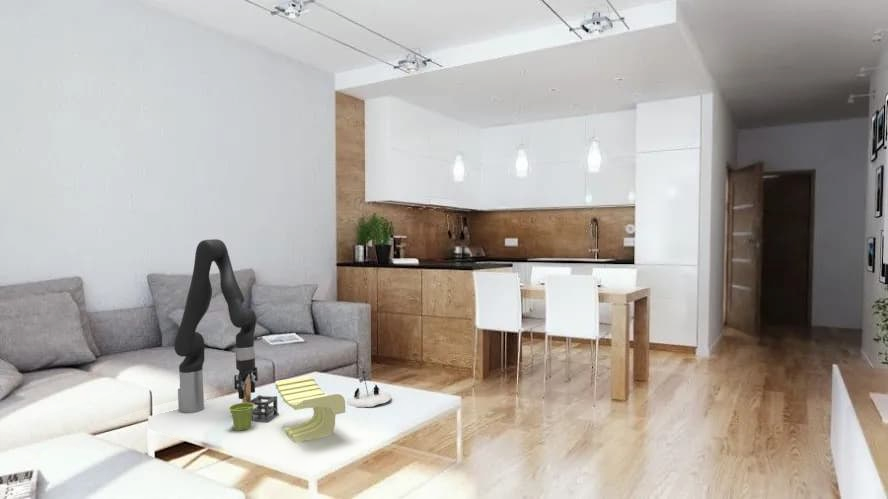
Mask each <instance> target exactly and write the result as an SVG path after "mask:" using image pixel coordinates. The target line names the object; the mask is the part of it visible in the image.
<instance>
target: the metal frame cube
mask: <svg viewBox="0 0 888 499" xmlns="http://www.w3.org/2000/svg"><path fill="white" fill-rule="evenodd" d="M262 400H264V401H262ZM248 403H253V404H254V406H256V407H253V411H252V420H251V421H255V423H267V424H268V423H270V422H271V421H272V420H274V419H275V418H277V417H278V416H279V412H278V396H275V395H274V396H269V395H268V396H267V395H259V394H258V395H257V396H256V397H254V398H253V399H252V398H251V401H248ZM270 404H273V405H270ZM263 410H264V411H263Z"/></svg>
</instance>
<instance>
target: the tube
mask: <svg viewBox="0 0 888 499" xmlns="http://www.w3.org/2000/svg"><path fill="white" fill-rule="evenodd" d="M251 400H252V393H251V383H250V377H249V378H248V381H247V384H246V385H245V387H244V399H241V401H242V402H241V403H248V401H251Z"/></svg>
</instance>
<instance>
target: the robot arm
mask: <svg viewBox="0 0 888 499" xmlns="http://www.w3.org/2000/svg"><path fill="white" fill-rule="evenodd" d="M213 262H214V263H215V265H216V267H217V268H218V271H219V276H220V279H219V280H220V282H219V284H220V290H221V293H222V295H223V298H224V300H225V303H226V304H227V310H228V315H229V319H230V322H231V324H232V325H233V326H235V328H240V331H239V332H238V333H236V335H235V367H236V370H237V371H238V374H234V376H233V379H234V383H233V384H234V386H233V387H234V391H236V390H237V392H238V393H237V394H238V396H237V397H238V399H239V400H242V399H244V387H245V385H246V384H247V381H248V378H249V377H250V383H251V394H253V393H255V392H256V383H257V382H258V380H259V377H258V376H259V375H258V367H257V366H256V353H255V352H256V351H255V345H254V340H255V339H254V334H255V330H256V325H257V316H256V313H255V311H254V309H251V308H243V307H242V304H243V303H245V296H244V295H243V292H242V290H241V287H240V286H239V283H238V281H237V279H236V275H235V272H234V270H233V266H232V262H231V258H230V256H229V251H228V248H227V246H226V244H225V242H224V241H222V240H221V239H217V238H216V239H215V238H213V239H204V240H201V241H200V242H199V243H198V244H197V246H196V249H195V257H194V263H193V264H194V266H193V270H192V276H191V281H190V285H189V288H188V293H187V297H186V302H185V307H184V310H183V313H182V314H183V315H182V318H181V321H180V325H179V328H178V331H177V333H176V336H175V338H174V342H173V345H174V346H173V348H174V351H175V354H176V355H177V356H179V357H182V358H183V357H184V359H183V361H182V362H181V363H180V364H179V366H178V369H179V370H178V371H179V387H178V388H177V403H178V412H182V413H185V414H187V413H196V412H197V413H198V412H200V411H203V410H204V408H205V400H204V398H205V397H204V396H205V395H204V374H203V373H204V372H203V366H204V363H205V350H206V349H205V339H204V337H203V335H202V334H201V333H199V331H196V330H197V327H198V325H199V324H200V322H201V321H202V319H203V318H204V316H205V314H207V311H208V310H209V308H210V305H211V301H212V300H211V299H212V295H213V288H212V283H211V280H210V272H211V268H212V264H213Z"/></svg>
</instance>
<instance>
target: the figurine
mask: <svg viewBox="0 0 888 499" xmlns="http://www.w3.org/2000/svg"><path fill="white" fill-rule="evenodd" d="M358 368H359V372H361V373H362V374H361V375H359V374H356V373H354V375H355V377H357V378H358V380H359V383H363V382H364V384H365V389H366V391H361V392H360V387H358V388H356V390H355V391H354V395H352V396H351V397H350V398H348V399H347V402H346V404H347V406H350V407H356V408H366V407H367V408H370V407H375V406H377V405H380V404H385V403H387V402H389V401H390V400H391V399H392V395H391V393H389V392H387V391H381V390H380V388H379V387H378V385H377V384H374V387H373V388H372V390H368V387H367V382H366V381H368V380H369V379H370V378H371V374H370V372H368V373H367V372H366V370H365V369H366V368H365V367H363V366H359V367H358ZM366 377H367V378H366Z"/></svg>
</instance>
